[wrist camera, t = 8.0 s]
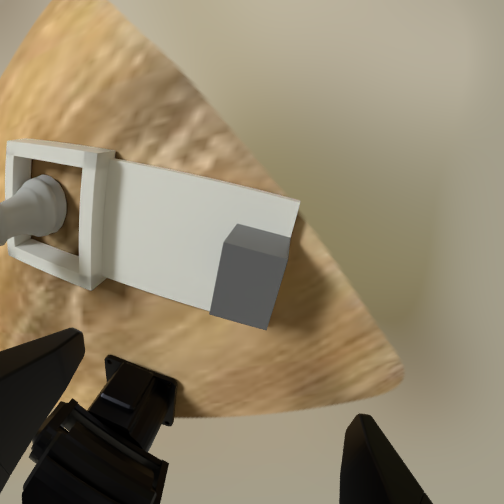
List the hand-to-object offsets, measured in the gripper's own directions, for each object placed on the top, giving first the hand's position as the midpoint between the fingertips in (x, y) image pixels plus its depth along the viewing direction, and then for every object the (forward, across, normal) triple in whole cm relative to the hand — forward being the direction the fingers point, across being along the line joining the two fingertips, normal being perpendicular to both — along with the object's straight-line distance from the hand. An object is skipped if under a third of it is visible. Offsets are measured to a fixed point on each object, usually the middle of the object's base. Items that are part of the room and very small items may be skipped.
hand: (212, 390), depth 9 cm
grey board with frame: (+11, +9, 0) cm, 14 cm away
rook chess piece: (+11, +16, 0) cm, 19 cm away
